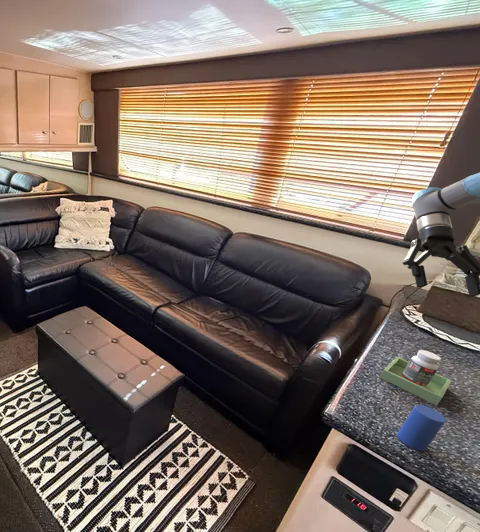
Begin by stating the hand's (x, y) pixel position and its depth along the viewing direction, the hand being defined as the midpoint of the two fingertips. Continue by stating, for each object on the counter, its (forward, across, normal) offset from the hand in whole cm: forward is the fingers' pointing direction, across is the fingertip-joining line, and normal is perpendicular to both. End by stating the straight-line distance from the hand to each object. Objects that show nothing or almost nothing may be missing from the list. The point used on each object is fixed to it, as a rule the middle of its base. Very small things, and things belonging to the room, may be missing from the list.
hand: (448, 290), depth 95 cm
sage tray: (+27, +4, -12) cm, 30 cm away
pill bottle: (+27, +4, -12) cm, 30 cm away
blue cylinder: (+46, +21, +7) cm, 51 cm away
